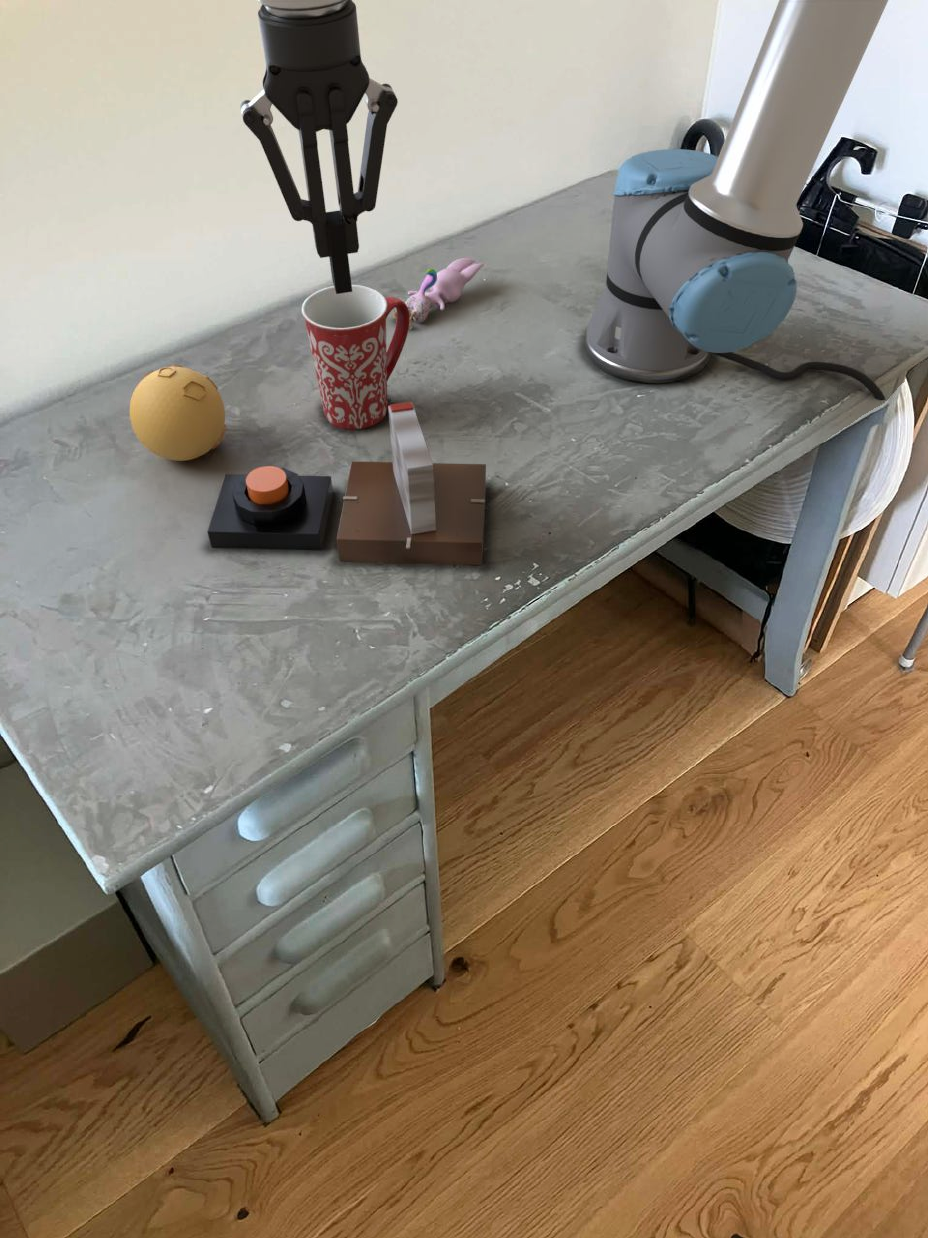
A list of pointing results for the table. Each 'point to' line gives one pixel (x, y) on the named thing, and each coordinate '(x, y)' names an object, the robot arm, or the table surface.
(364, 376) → the mug
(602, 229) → the table surface
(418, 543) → the plate
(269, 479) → the button
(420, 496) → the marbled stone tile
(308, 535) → the button housing
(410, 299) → the rabbit figure
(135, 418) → the stress ball
